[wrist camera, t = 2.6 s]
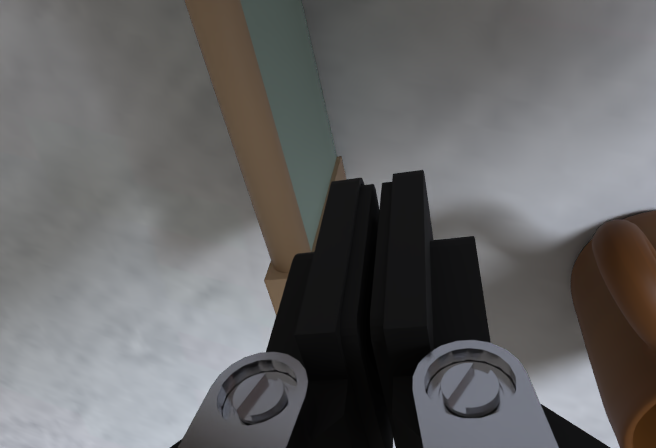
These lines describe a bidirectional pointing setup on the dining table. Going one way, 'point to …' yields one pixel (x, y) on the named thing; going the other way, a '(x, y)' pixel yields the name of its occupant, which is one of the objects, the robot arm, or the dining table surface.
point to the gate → (272, 119)
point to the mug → (621, 322)
